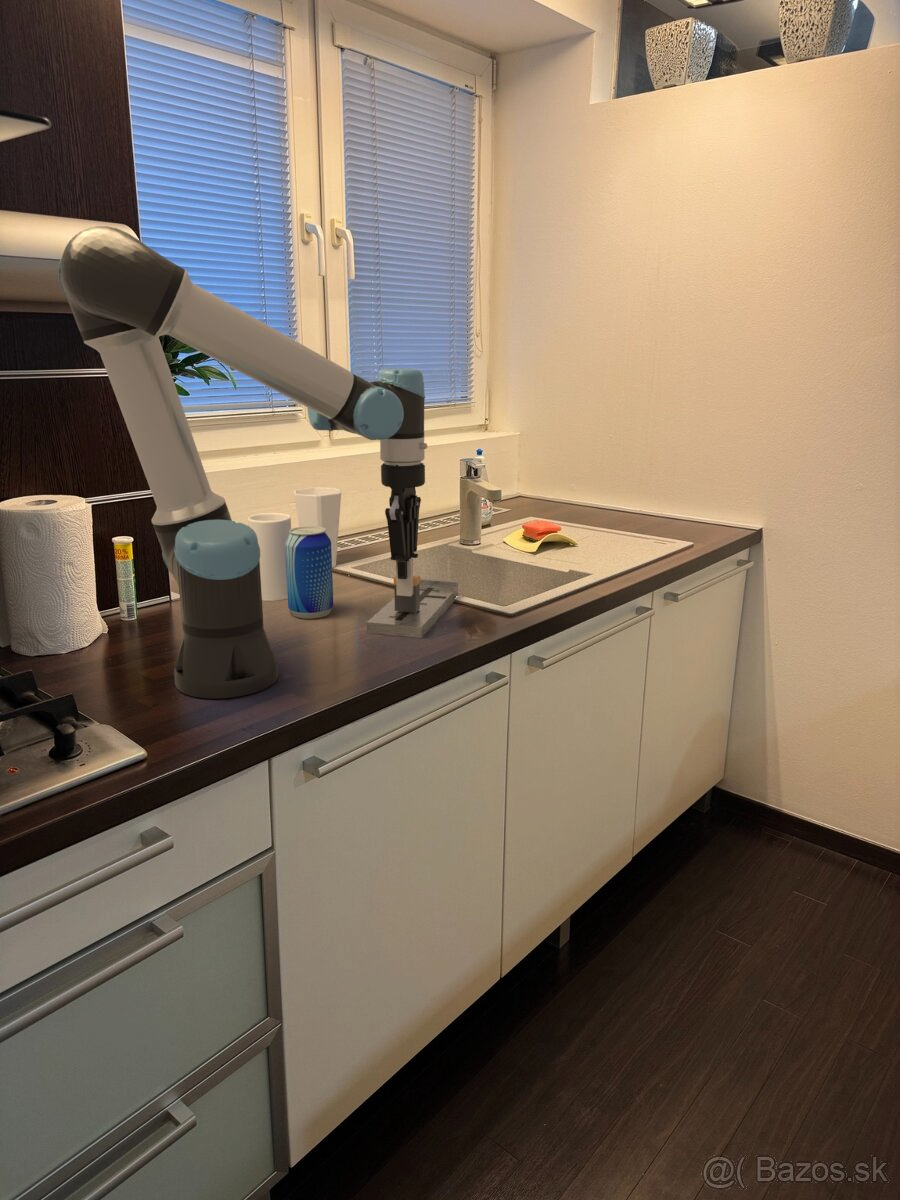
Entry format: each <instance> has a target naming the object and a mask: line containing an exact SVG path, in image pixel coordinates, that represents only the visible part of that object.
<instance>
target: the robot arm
mask: <svg viewBox="0 0 900 1200" xmlns="http://www.w3.org/2000/svg"><path fill="white" fill-rule="evenodd" d="M57 273H58V274H57V275H58V277H57V278H58V282H59V286H60V289H61V292H62V295H63V296H64V299H65V300H66V301H67V302H68V305H69V306H70V310H71V312H72V315H73V318H74V321H75V323H76V325H77V328H78V330H79V333H80V336H81V337H82V338H81V339H82V340H83V343H84V345H87V346H88V347H91V348H93V350H96V351H97V352H98V353H99V355H100V358H101V360H102V363H103V365H104V368H105V372H106V374H107V377H108V379H109V382H110V384H111V387H112V390H113V393H114V395H115V397H116V398H115V399H116V401H117V403H118V405H119V408H120V411H121V414H122V416H123V418H124V422H125V424H126V428H127V430H128V433H129V436H130V438H131V441H132V443H133V447H134V448H135V449H134V450H135V452H136V455H137V457H138V460H139V463H140V465H141V467H142V470H143V473H144V477H145V478H146V480H147V481H146V482H147V484H148V488H149V489H150V492H151V495H152V497H153V500H154V503H155V505H156V510H155V512H154V514H153V516H152V518H151V524H152V526H153V528H154V531H155V534H156V537H157V539H158V542H159V544H160V547H161V551H162V553H161V554H162V559H163V562H164V565H165V567H166V568H167V569H168V571H169V572H170V574H171V575H172V576H173V578H174V580H175V581H176V583H177V585H178V591H179V592H178V594H179V601H180V612H181V613H180V614H181V625H182V639H181V642H180V646H179V650H178V654H177V657H176V662H175V666H174V669H173V670H174V672H173V673H174V675H173V676H174V684H175V687H176V689H177V690H178V691H179V692H180V693H182V694H184V695H186V696H191V697H194V698H199V699H200V698H202V699H230V698H237V697H243V696H247V695H252V694H255V693H258V692H261V691H263V690H265V689H268V688H269V687H270V686H273V685H274V684H275V683H276V682H277V680H278V678H279V669H278V667H279V664H278V660H277V657H276V656H275V653H274V650H273V648H272V645H271V643H270V640H269V638H268V635H267V633H266V631H265V628H264V627H265V626H264V614H263V613H264V612H263V600H262V593H261V576H260V547H259V545H258V538H257V535H256V533H255V531H254V530H253V529H252V528H250V527H249V526H248V525H247V524H245V523H243V522H236V521H234V520H233V519H232V516H231V514H230V511H229V508H228V505H227V503H226V499H225V498H224V497H223V496H221V495H219V494H217V493H215V492H214V491H212V489H211V485H210V483H209V480H208V477H207V473H206V471H205V469H204V466H203V462H202V460H201V457H200V454H199V452H198V448H197V445H196V442H195V440H194V436H193V434H192V431H191V427H190V424H189V422H188V418H187V417H186V414H185V411H184V407H183V405H182V401H181V397H180V396H179V393H178V390H177V387H176V384H175V381H174V378H173V375H172V372H171V369H170V366H169V363H168V361H167V358H166V355H165V352H164V350H163V349H164V348H163V346H162V344H161V341H160V337H161V336H169V337H172V338H174V339H175V340H177V341H179V342H180V343H183V344H185V345H186V346H189V347H191V348H192V349H194V350H196V351H198V352H200V353H202V354H204V355H206V356H208V357H210V358H212V359H214V360H215V361H217V362H219V363H222V364H224V365H225V366H227V367H229V368H231V369H233V370H234V371H237V372H239V373H240V374H243V375H245V376H246V377H248V378H251V379H252V380H255V381H256V382H258V383H259V384H261V385H264V386H266V387H268V389H269V388H270V389H272V390H274V391H275V392H277V393H279V394H281V395H283V396H284V397H287V398H289V399H291V400H292V401H295V402H296V403H299V404H301V405H302V406H304V407H306V409H307V416H308V420H309V423H310V425H311V427H312V428H313V429H314V430H316V431H329V432H333V431H345V432H348V433H351V434H355V435H358V436H361V437H364V438H365V439H366V440H370V441H379V444H380V447H379V450H380V451H379V453H380V454H379V455H380V457H379V458H380V460H381V461H382V462H383V463H382V464H381V465H380V476H381V477H380V483H381V485H382V486H384V487H386V488H390V489H391V492H390V497H389V500H388V501H389V502H388V503H389V507H390V508H389V507H386V508H385V510H384V512H385V513H384V515H385V518H386V522H387V528H388V529H387V530H388V539H389V547H390V561H395V576H396V590H397V595H399V596H412V595H413V594H414V592H413V576H414V559H418V557H419V553H416V552H417V551H418V537H419V521H420V520H419V517H420V507H421V502H422V499H421V496H418V495H417V491H416V488H418V487H422V486H424V485H425V483H426V465H425V463H423V462H422V461H424V460H425V450H427V449H428V443H426V442H425V399H426V396H425V393H426V392H425V382H424V375H423V373H422V371H420V370H419V369H417V368H383V369H380V370H379V372H378V378H377V380H375V381H368V380H366V379H365V378H362V377H361V376H358V375H356V374H354V373H352V372H351V371H349V369H346V368H344V367H342V366H341V365H339V364H337V363H336V362H334V361H332V360H330V359H328V358H327V357H325V356H323V355H321V354H320V353H317V351H314V350H312V349H311V348H309V347H307V346H305V345H304V344H302V343H300V342H299V341H296V340H295V339H293V338H291V337H290V336H288V335H286V334H284V333H283V332H281V331H279V330H277V329H275V328H274V327H271V326H269V325H268V324H266V322H262V321H261V320H259V319H257V318H255V316H252V315H250V314H248V313H247V312H245V311H243V310H242V309H240V308H238V307H236V306H234V305H232V304H231V303H229V302H227V301H225V300H224V299H222V298H220V297H219V296H217V295H214V294H213V293H211V292H210V291H208V290H205V289H204V288H202V287H201V286H198V285H197V284H195V283H193V282H192V281H191V278H190V276H189V273H188V271H187V269H185V268H183V267H181V266H179V265H178V264H175V263H174V262H173V261H171V260H169V259H168V258H166V257H165V256H164V255H161V254H160V253H158V251H155V250H154V249H153V248H151V247H149V246H148V245H147V244H145V243H144V242H143V241H142V240H139V239H138V238H137V237H135V236H133V235H132V234H130V233H128V232H126V231H124V230H122V229H119V228H117V227H112V226H107V225H103V226H102V225H99V226H98V225H97V226H93V227H89V228H86V229H83V230H81V231H79V232H78V233H77V234H75V235H74V236H73V237H72V238H71V239H70V240H69V241H68V243H67V244H66V246H65V249H64V250H63V252H62V254H61V258H60V260H59V263H58V272H57Z"/></svg>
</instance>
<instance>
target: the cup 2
mask: <svg viewBox="0 0 900 1200" xmlns="http://www.w3.org/2000/svg"><path fill="white" fill-rule="evenodd" d="M293 493H294V500H295V501H294V502H295V508H296V512H297V513H296V514H297V519H298V520H297V521H298V527H303V526H316V527H322V528H325V529H326V531H325V532H326V534H327V535H328V537H329V538H330V540H331V551H332V569H333V568H336V567H335V566H337V557H338V555H337V553H338V542H339V540H338V539H339V526H340V514H341V502H342V501H341V500H342V492H341V489H340V488H337V487H336V488H335V487H326V486H325V487H324V486H323V487H322V486H313V487H306V488H305V487H304V488H297V489H294V490H293Z"/></svg>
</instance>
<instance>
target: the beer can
mask: <svg viewBox="0 0 900 1200" xmlns="http://www.w3.org/2000/svg"><path fill="white" fill-rule="evenodd" d="M325 531H326V529H325V528H322V527H316V526H303V527H299V526H297V527H291V529H290V530H289V532H290V534H289V536H288V538H287V539H286V541H285V555H286V575H287V594H288V599H287V608H288V610H289V611H290V612H291V613H292V616H293V617H295V618H298V619H304V620H305V619H308V620H309V619H311V620H312V619H319V618H320V619H321V618H324V617H326V616H328V615H329V614H330V613H331V610H332V609H333V608H334V584H333V568H332V551H331V540H330V538H329V537H328V535H327V534H326V532H325Z"/></svg>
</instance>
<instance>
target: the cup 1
mask: <svg viewBox="0 0 900 1200" xmlns="http://www.w3.org/2000/svg"><path fill="white" fill-rule="evenodd" d="M291 520H292V519H291V515H290V514H287V513H280V512H263V513H256V514H255V513H254V514H251V515H249V516H248V517H247V524H248V525H247V526H249V527H250V528H252V529H253V530H254V531H255V533H256V535H257V538H258V545H259V547H260V576H261V593H262V602H263V601H265V602H273V601H274V602H277V601H278V602H279V601H284V600H288V594H287V575H286V555H285V541H286V539H287V538H288V536H289V534H290V532H289V530H290V529H292V521H291Z"/></svg>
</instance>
